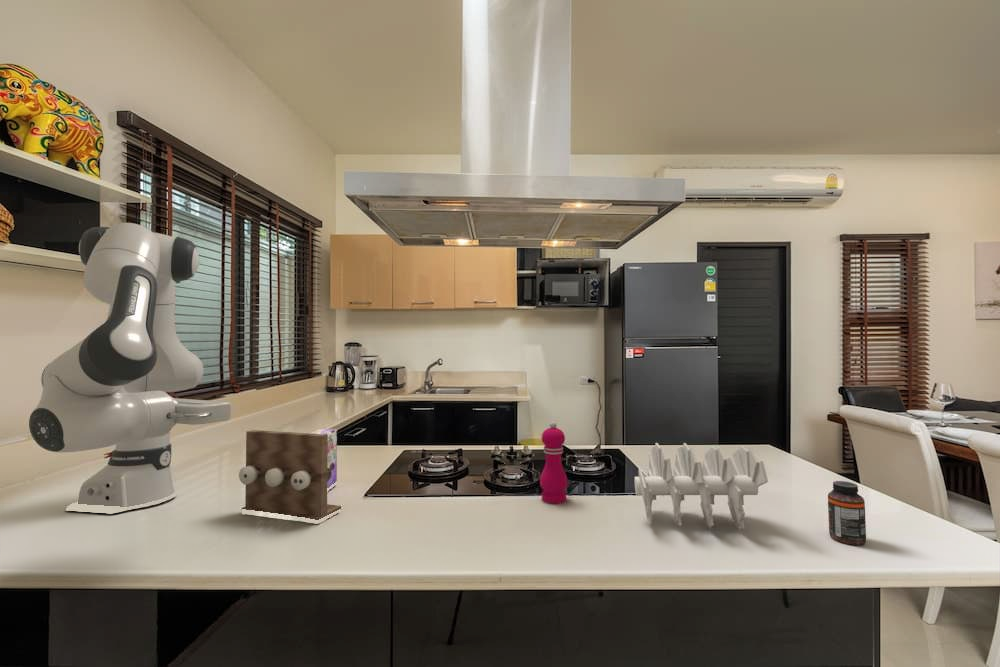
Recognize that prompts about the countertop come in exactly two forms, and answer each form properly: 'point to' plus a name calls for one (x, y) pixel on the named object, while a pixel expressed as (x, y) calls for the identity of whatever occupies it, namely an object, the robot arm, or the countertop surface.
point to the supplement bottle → (846, 514)
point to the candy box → (330, 454)
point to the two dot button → (301, 480)
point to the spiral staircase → (702, 480)
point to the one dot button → (249, 474)
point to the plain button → (275, 477)
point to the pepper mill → (553, 466)
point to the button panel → (288, 473)
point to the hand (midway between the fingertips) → (216, 404)
